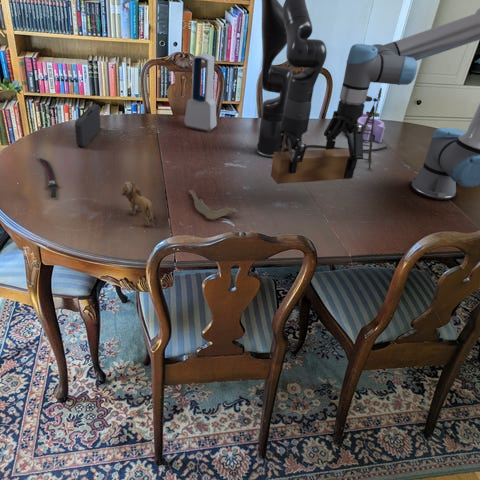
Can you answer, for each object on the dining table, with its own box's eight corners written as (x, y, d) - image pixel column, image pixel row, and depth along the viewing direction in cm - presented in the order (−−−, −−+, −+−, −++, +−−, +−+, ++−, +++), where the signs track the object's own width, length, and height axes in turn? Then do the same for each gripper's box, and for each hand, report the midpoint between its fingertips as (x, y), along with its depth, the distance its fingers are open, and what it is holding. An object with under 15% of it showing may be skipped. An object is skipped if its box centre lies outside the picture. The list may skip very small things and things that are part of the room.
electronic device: (216, 128, 205) (221, 56, 188) (210, 133, 198) (214, 59, 182) (190, 122, 207) (193, 51, 191) (183, 127, 201) (185, 54, 185)
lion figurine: (118, 210, 138) (116, 182, 133) (132, 204, 141) (131, 177, 137) (151, 229, 130) (150, 201, 126) (165, 223, 134) (165, 195, 129)
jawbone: (218, 227, 136) (218, 221, 134) (170, 202, 146) (169, 197, 145) (238, 214, 141) (238, 209, 140) (190, 191, 152) (190, 186, 151)
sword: (61, 197, 141) (61, 193, 140) (50, 198, 139) (50, 194, 139) (49, 160, 164) (48, 156, 163) (39, 160, 163) (39, 157, 162)
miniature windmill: (370, 170, 181) (390, 92, 164) (348, 166, 182) (366, 88, 166) (369, 161, 188) (389, 86, 172) (348, 157, 189) (366, 82, 173)
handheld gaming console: (94, 127, 192) (92, 103, 187) (101, 127, 192) (99, 103, 187) (76, 147, 173) (73, 121, 167) (83, 148, 173) (80, 122, 167)
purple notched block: (343, 126, 223) (346, 112, 219) (367, 127, 225) (371, 113, 221) (360, 142, 206) (364, 127, 202) (386, 142, 209) (390, 127, 205)
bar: (277, 184, 140) (281, 159, 136) (270, 176, 145) (273, 151, 140) (350, 178, 148) (356, 155, 144) (342, 171, 153) (347, 148, 148)
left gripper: (319, 122, 128) (309, 178, 138) (297, 106, 140) (289, 158, 149) (295, 123, 126) (285, 179, 135) (274, 106, 137) (267, 159, 146)
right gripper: (387, 115, 128) (368, 185, 139) (342, 89, 147) (329, 152, 159) (363, 115, 125) (346, 186, 137) (321, 89, 145) (309, 153, 156)
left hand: (287, 168), depth 142 cm, fingers closed on bar, 5 cm apart
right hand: (337, 168), depth 148 cm, fingers open, 13 cm apart
